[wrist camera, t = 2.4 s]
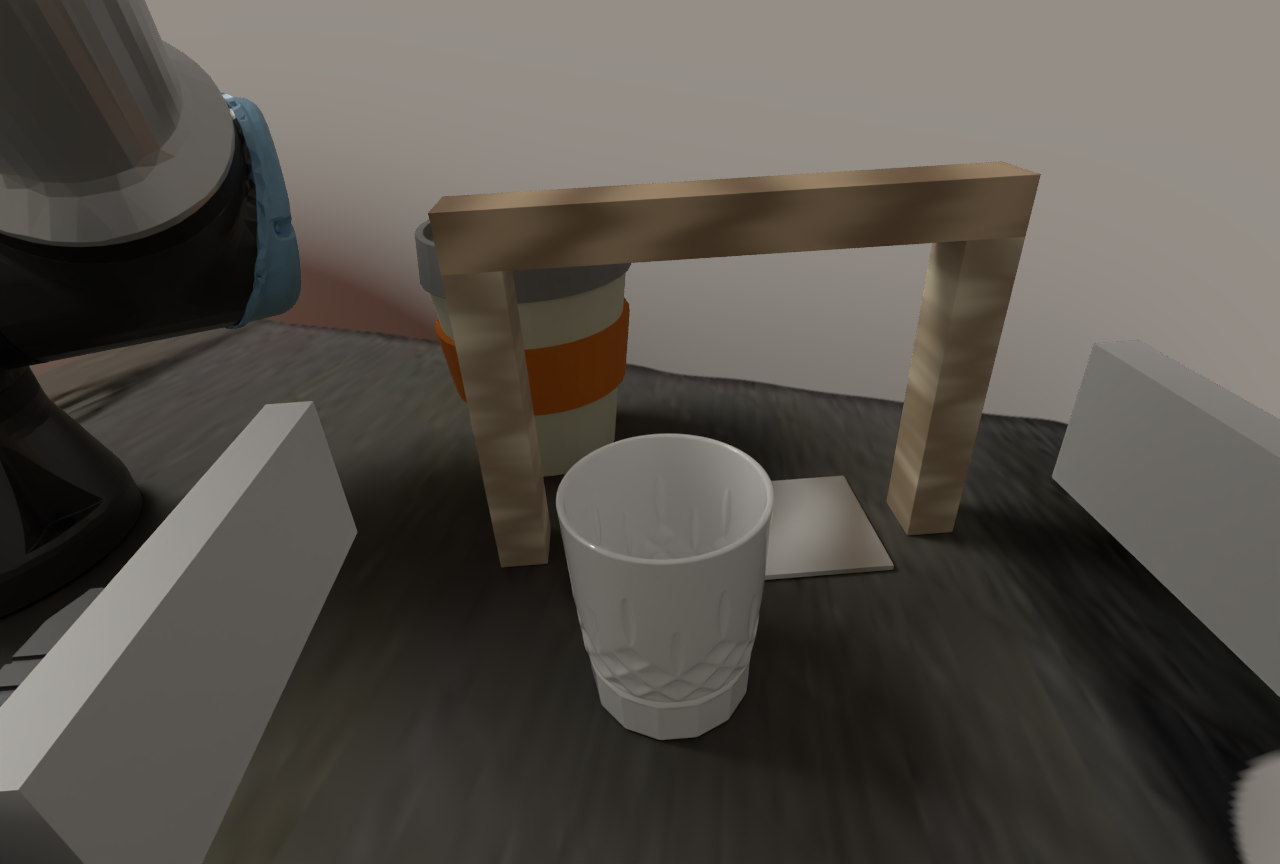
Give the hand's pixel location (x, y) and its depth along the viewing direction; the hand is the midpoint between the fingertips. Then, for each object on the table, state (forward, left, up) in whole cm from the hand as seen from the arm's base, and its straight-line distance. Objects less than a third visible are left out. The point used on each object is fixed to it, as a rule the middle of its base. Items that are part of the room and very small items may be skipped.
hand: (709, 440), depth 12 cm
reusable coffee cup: (-30, +10, -18) cm, 36 cm away
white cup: (-9, +5, -18) cm, 21 cm away
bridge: (-15, +13, -18) cm, 27 cm away
